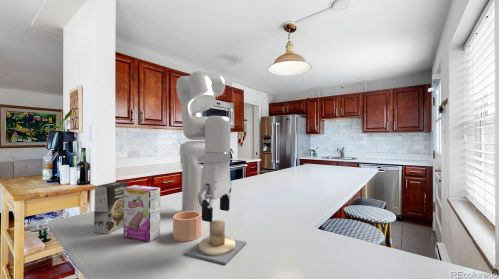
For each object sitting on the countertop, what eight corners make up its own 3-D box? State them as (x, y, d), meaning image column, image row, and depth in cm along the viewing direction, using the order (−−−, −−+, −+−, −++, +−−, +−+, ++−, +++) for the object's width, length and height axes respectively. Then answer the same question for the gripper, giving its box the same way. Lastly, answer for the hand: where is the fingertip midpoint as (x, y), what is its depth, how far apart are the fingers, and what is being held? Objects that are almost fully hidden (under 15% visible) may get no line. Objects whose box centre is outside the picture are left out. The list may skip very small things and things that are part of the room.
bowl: (185, 228, 81) (185, 209, 81) (206, 232, 78) (206, 213, 78) (167, 238, 73) (167, 217, 73) (189, 243, 70) (189, 221, 70)
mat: (210, 236, 75) (210, 234, 75) (246, 243, 70) (246, 241, 70) (184, 254, 63) (184, 252, 63) (225, 264, 58) (225, 262, 58)
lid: (211, 236, 73) (211, 215, 73) (241, 242, 69) (241, 219, 69) (191, 251, 64) (191, 226, 64) (223, 259, 59) (223, 232, 59)
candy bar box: (122, 237, 74) (122, 187, 74) (134, 232, 78) (134, 184, 79) (149, 243, 70) (150, 190, 70) (160, 236, 75) (161, 187, 75)
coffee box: (109, 234, 76) (109, 186, 77) (93, 232, 78) (93, 185, 78) (128, 224, 85) (129, 181, 85) (114, 223, 87) (114, 181, 87)
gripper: (221, 155, 76) (220, 205, 77) (188, 160, 60) (187, 223, 61) (241, 156, 73) (240, 208, 74) (212, 162, 57) (211, 228, 58)
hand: (216, 215), depth 67 cm, fingers open, 9 cm apart
